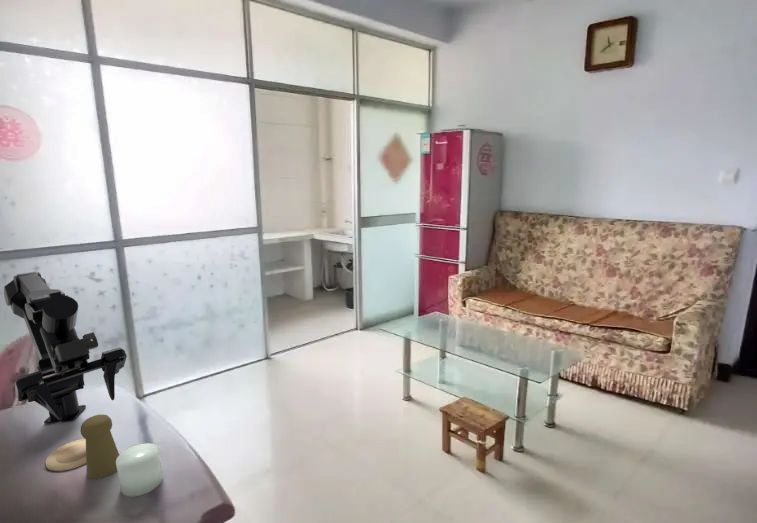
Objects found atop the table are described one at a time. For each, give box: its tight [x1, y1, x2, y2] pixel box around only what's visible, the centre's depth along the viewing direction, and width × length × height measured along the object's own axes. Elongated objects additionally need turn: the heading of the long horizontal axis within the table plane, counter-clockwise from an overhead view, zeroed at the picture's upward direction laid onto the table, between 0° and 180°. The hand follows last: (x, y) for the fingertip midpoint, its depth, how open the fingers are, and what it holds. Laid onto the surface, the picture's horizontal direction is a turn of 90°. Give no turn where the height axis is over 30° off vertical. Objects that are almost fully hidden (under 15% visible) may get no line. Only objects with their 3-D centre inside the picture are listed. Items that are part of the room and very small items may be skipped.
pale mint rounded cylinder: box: [116, 442, 164, 498], centre depth 81 cm, size 7×7×6 cm
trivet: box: [45, 438, 86, 472], centre depth 91 cm, size 10×10×1 cm
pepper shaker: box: [79, 414, 120, 480], centre depth 85 cm, size 6×6×11 cm
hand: (87, 408), depth 87 cm, fingers open, 9 cm apart
